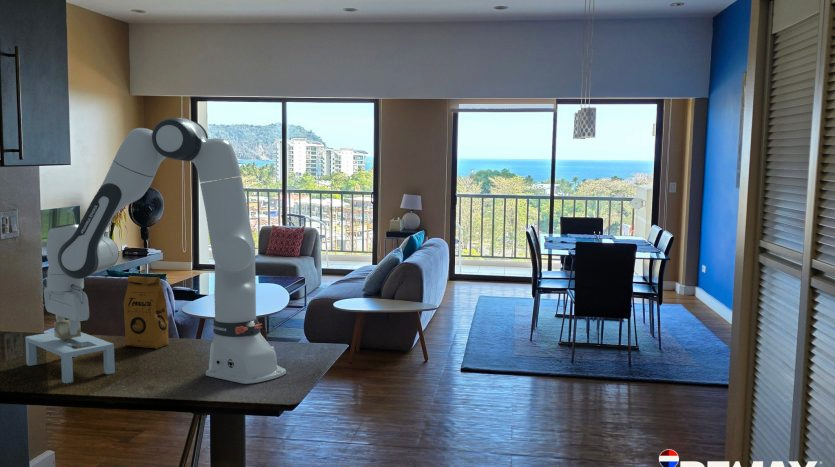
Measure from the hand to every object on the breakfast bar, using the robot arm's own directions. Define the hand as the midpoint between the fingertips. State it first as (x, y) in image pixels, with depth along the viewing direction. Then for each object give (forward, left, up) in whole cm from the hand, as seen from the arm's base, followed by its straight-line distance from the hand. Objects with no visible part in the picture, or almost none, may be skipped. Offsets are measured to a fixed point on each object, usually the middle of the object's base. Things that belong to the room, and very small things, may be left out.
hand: (67, 332), depth 193 cm
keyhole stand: (0, 0, -10) cm, 10 cm away
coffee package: (+8, -27, -11) cm, 30 cm away
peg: (0, 0, -6) cm, 6 cm away
